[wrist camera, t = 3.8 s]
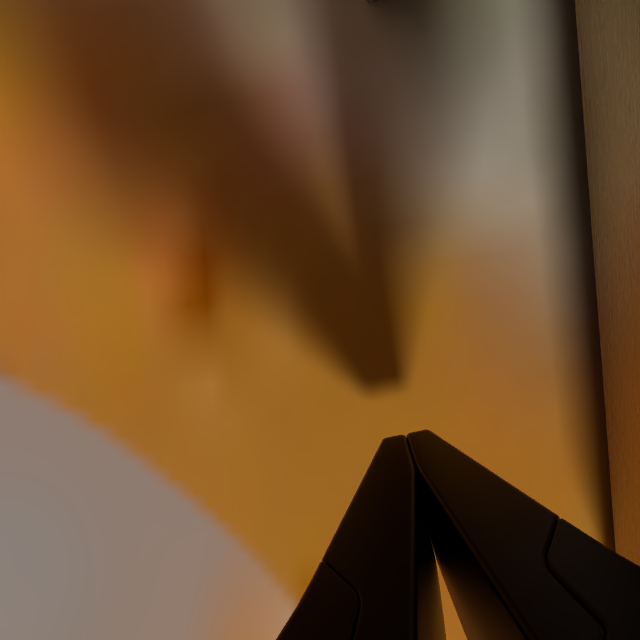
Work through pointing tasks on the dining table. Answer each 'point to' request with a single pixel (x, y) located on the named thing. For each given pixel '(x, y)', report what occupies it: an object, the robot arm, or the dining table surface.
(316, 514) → the dining table surface
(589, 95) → the beige block with rivets
